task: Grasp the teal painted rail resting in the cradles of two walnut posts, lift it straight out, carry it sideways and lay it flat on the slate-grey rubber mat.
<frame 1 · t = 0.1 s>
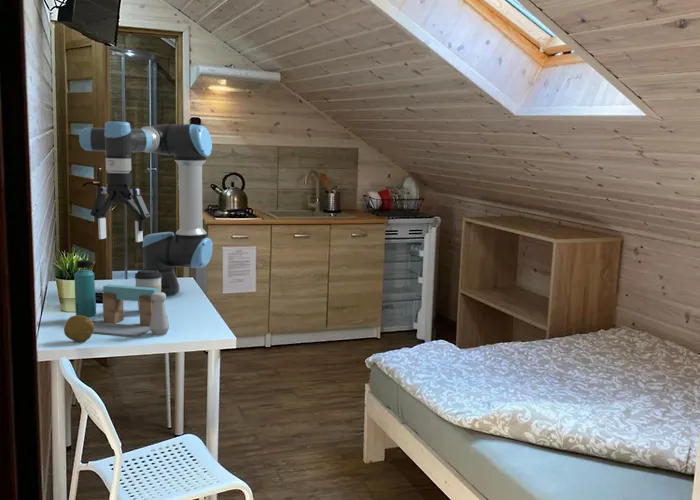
hand: (120, 240, 221), 28 cm above the table, fingers open, 13 cm apart
potato: (79, 342, 208), on the table
mat: (116, 330, 221), on the table
post b: (149, 324, 228), on the table
post a: (113, 321, 231), on the table
beverage bottle: (86, 320, 232), on the table
rail: (131, 299, 228), point 8 cm above the table, touching post a, post b
coffee cup: (149, 312, 244), on the table
salt shaker: (159, 334, 218), on the table
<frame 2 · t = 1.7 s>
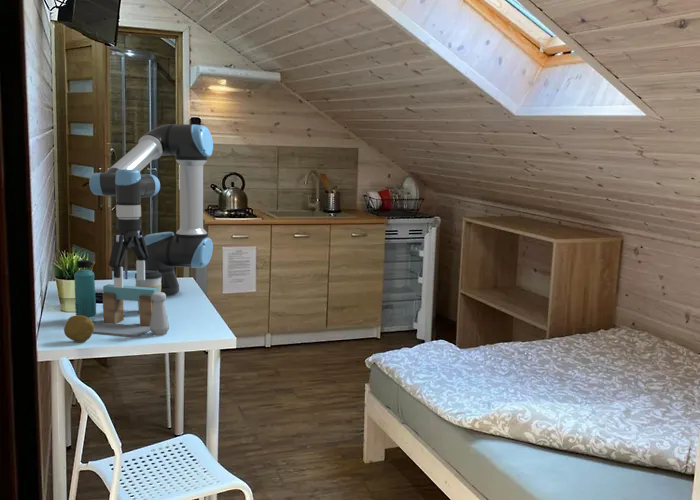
hand: (130, 283, 227), 13 cm above the table, fingers open, 13 cm apart
nothing on the table moved.
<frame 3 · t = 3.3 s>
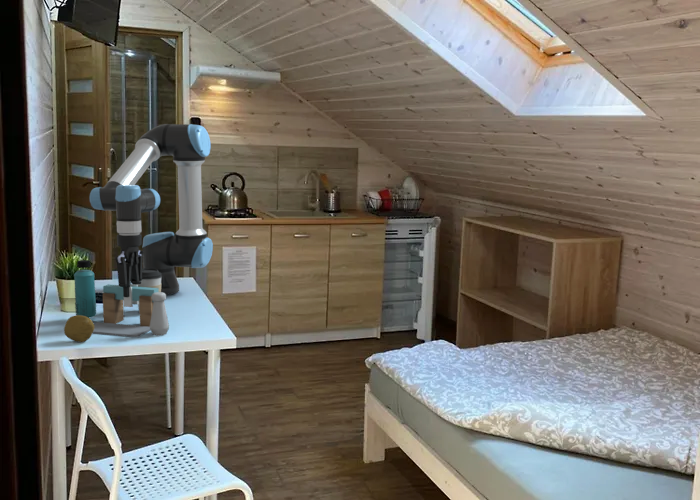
hand: (131, 305, 228), 6 cm above the table, fingers closed on rail, 3 cm apart
rail: (131, 299, 228), point 8 cm above the table, touching gripper
everything else where it was.
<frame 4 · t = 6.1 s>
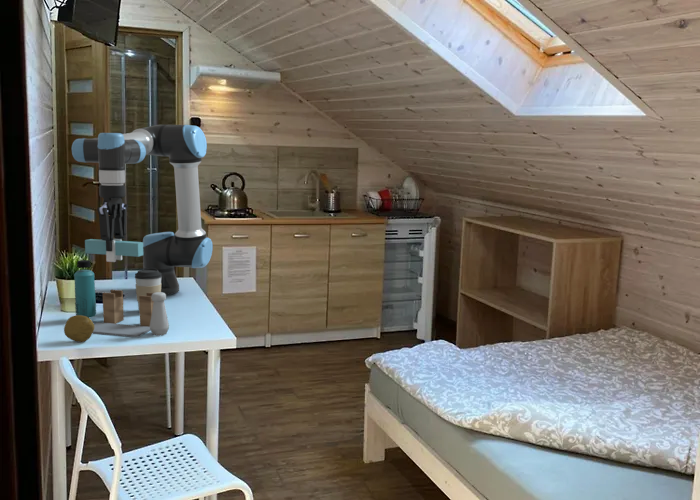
hand: (114, 260, 217), 22 cm above the table, fingers closed on rail, 3 cm apart
rail: (114, 254, 217), point 24 cm above the table, touching gripper
everything else where it was.
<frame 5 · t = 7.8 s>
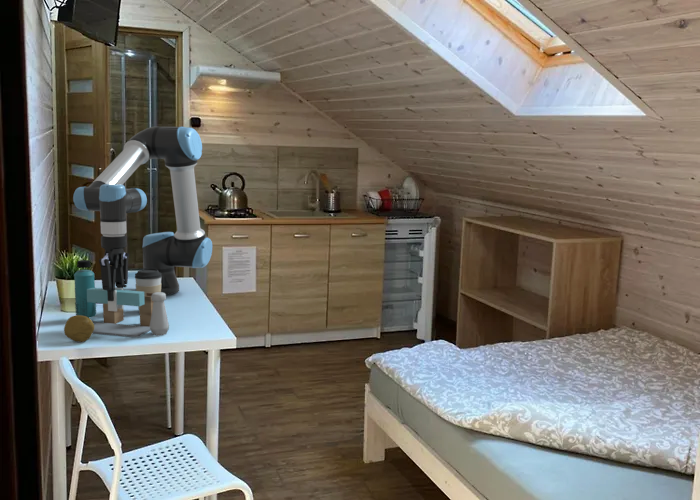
hand: (115, 309, 220), 7 cm above the table, fingers closed on rail, 3 cm apart
rail: (115, 303, 219), point 9 cm above the table, touching gripper
everything else where it was.
when the fingers open (2 cm above the table, at t = 9.0 s): rail drops 3 cm, resting on mat.
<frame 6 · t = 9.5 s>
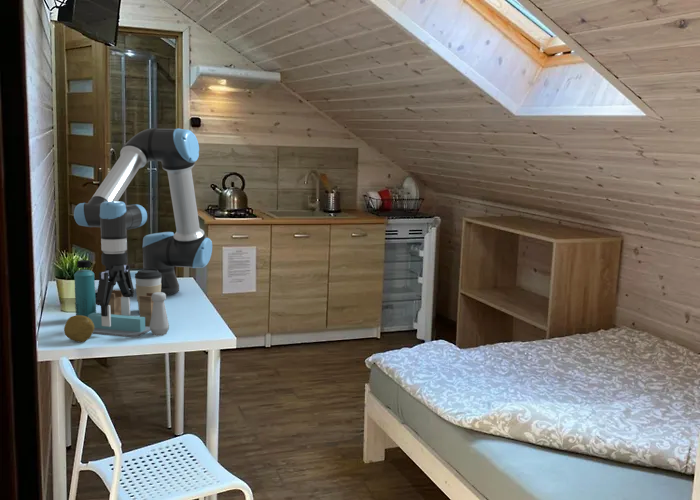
hand: (116, 321, 220), 3 cm above the table, fingers open, 10 cm apart
rail: (116, 328, 221), point 1 cm above the table, touching mat
everything else where it was.
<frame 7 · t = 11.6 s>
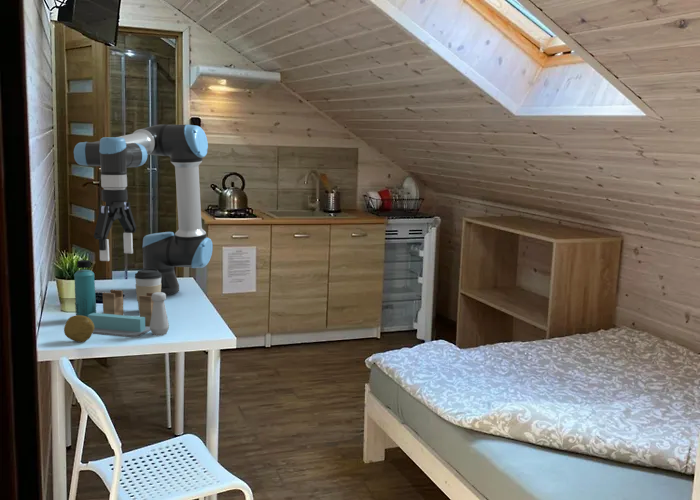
hand: (116, 256, 219), 23 cm above the table, fingers open, 13 cm apart
nothing on the table moved.
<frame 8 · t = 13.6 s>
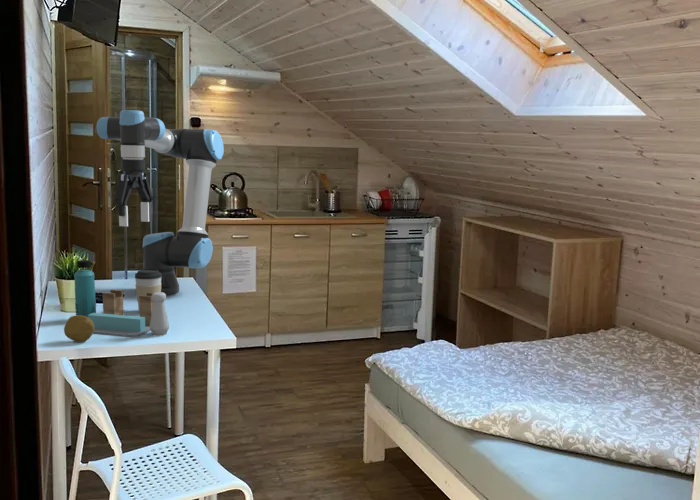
hand: (134, 223, 232), 32 cm above the table, fingers open, 13 cm apart
nothing on the table moved.
at the end: rail inside the target area on the mat (0.1 cm from its centre), point 0.6 cm above the mat's base; rail tilted 0°; the gripper is holding nothing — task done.
